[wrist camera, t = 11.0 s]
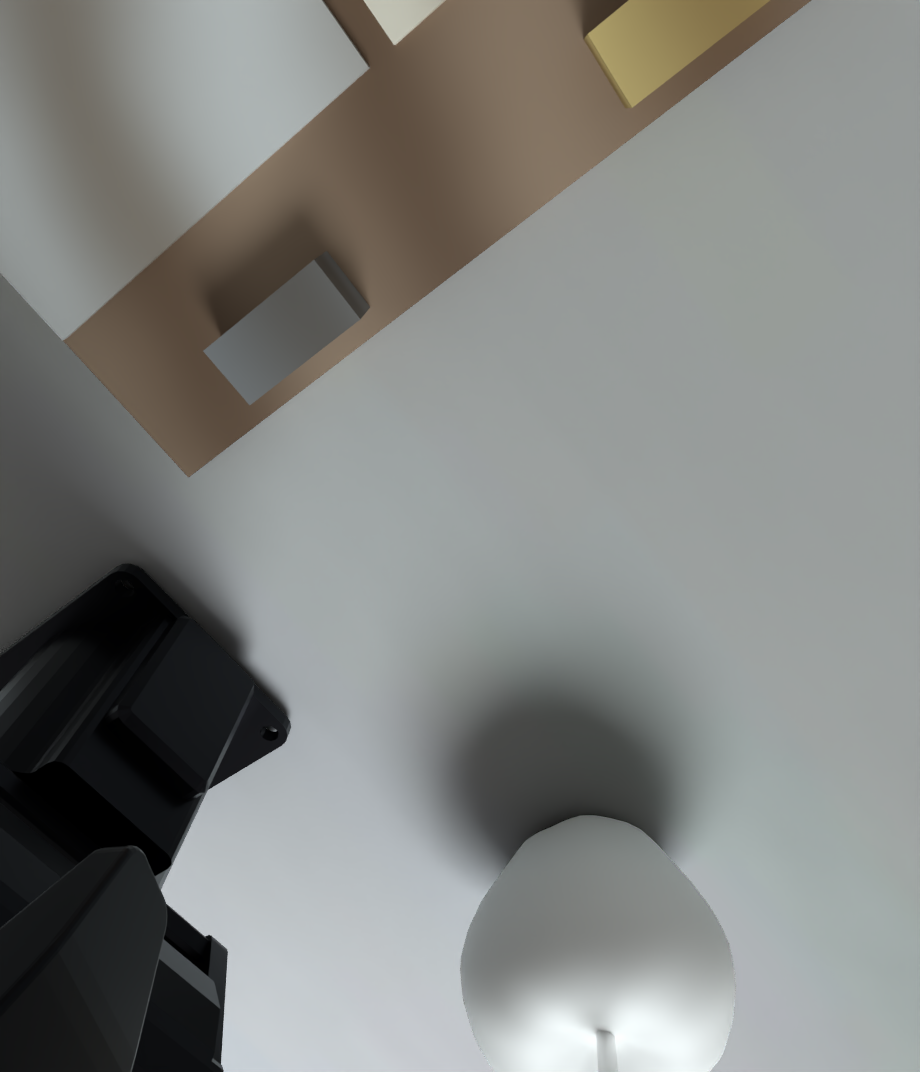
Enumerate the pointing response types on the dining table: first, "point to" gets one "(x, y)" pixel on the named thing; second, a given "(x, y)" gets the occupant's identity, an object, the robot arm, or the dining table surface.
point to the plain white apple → (597, 958)
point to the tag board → (301, 169)
